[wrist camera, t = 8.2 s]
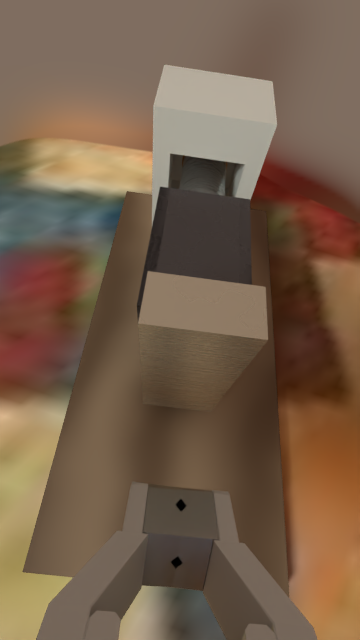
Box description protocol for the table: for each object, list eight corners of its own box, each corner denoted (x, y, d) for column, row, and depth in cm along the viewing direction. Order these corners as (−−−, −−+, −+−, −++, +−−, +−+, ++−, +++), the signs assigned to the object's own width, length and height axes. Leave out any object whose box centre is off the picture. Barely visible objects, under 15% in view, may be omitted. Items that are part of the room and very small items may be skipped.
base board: (29, 567, 15) (22, 572, 15) (127, 200, 29) (126, 191, 28) (281, 593, 16) (289, 599, 15) (262, 219, 29) (266, 211, 28)
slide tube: (143, 403, 18) (137, 323, 9) (175, 197, 27) (188, 57, 18) (210, 411, 18) (268, 339, 9) (220, 204, 27) (254, 67, 18)
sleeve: (140, 365, 20) (136, 305, 14) (156, 269, 24) (160, 186, 17) (218, 375, 20) (252, 320, 14) (222, 278, 24) (250, 199, 18)
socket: (151, 235, 26) (153, 105, 17) (159, 195, 28) (164, 64, 19) (233, 247, 26) (277, 124, 17) (234, 206, 28) (272, 81, 20)
